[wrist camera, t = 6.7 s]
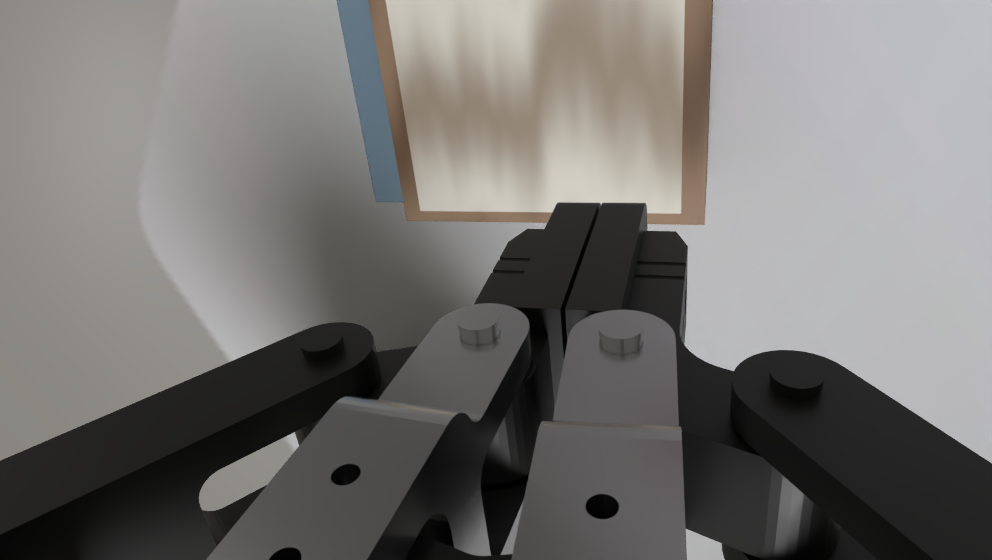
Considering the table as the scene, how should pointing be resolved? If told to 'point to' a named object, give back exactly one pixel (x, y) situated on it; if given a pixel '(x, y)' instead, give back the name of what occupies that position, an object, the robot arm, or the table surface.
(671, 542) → the robot arm
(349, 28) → the rubber mat
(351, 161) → the table surface
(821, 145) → the table surface
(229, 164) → the table surface
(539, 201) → the wooden block
